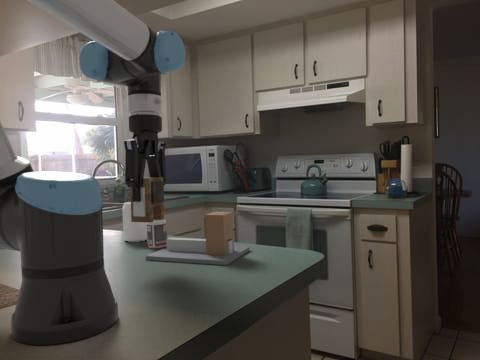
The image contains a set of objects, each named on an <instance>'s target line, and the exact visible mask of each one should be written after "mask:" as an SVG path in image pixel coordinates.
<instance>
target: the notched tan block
mask: <svg viewBox="0 0 480 360" xmlns="http://www.w3.org/2000/svg"><path fill="white" fill-rule="evenodd" d="M142 187H145V216H144V217H141V216H133V200H132V187H129V188H130V202H131V222H148V223H150V222H153V220H163V219H165V206H164V205H165V185H164V181H163V177H151V178H150V177H144V178H143V184H142Z"/></svg>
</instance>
